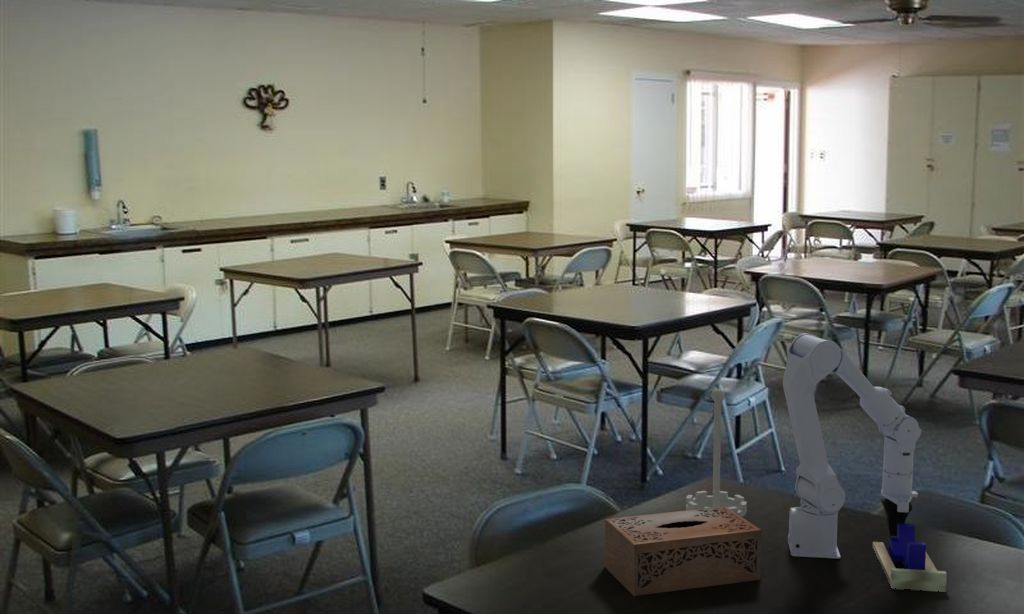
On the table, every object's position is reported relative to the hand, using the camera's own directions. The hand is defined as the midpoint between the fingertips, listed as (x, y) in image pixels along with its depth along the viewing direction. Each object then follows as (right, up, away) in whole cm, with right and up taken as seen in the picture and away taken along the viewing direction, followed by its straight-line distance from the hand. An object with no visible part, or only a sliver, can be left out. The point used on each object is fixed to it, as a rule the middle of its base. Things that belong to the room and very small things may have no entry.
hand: (894, 535), depth 214 cm
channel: (-2, -4, -12) cm, 13 cm away
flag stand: (-34, -1, +14) cm, 37 cm away
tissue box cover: (-46, -5, -14) cm, 48 cm away
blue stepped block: (-1, -4, -9) cm, 10 cm away
